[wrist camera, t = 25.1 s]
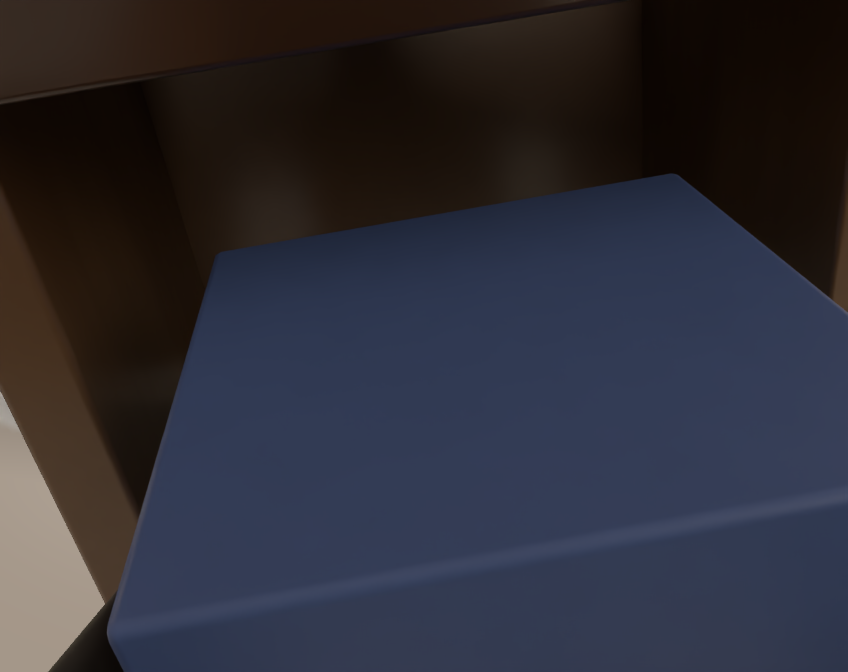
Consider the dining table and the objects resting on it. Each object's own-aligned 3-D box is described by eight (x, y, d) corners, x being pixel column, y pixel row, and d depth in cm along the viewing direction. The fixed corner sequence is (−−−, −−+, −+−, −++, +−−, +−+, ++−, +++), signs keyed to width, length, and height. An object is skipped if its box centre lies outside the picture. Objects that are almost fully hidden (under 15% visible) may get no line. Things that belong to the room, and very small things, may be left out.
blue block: (312, 582, 10) (306, 1041, 6) (212, 249, 8) (97, 636, 4) (669, 516, 10) (894, 924, 6) (676, 169, 8) (1043, 460, 4)
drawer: (688, 512, 18) (859, 805, 13) (244, 595, 18) (207, 934, 12) (726, -475, 10) (1291, -977, 4) (-98, -351, 10) (-728, -706, 4)
